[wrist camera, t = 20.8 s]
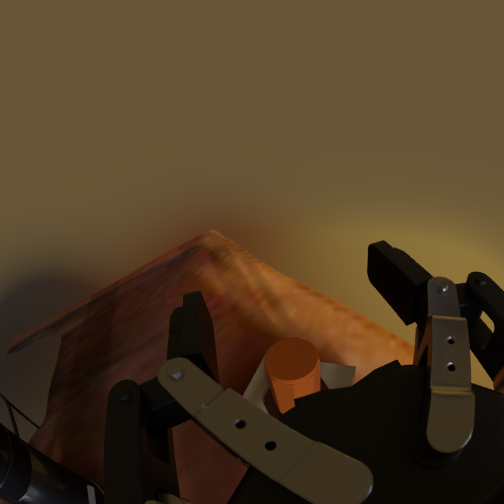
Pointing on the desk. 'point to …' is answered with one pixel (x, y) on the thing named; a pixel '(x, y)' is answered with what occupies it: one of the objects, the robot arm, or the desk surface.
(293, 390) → the hat
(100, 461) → the desk surface
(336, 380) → the grey stone tile
